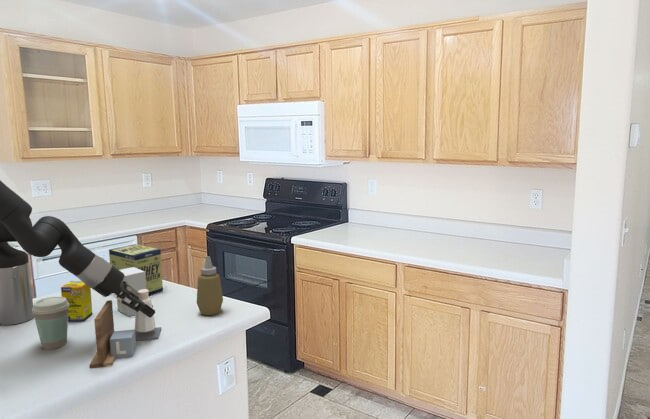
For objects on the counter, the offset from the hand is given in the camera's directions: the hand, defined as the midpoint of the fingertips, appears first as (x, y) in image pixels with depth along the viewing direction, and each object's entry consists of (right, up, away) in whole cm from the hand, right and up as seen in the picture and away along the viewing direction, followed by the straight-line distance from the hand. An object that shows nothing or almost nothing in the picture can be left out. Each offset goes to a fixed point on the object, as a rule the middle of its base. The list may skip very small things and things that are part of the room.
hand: (151, 311), depth 130 cm
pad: (-2, -7, 0) cm, 7 cm away
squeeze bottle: (+12, -4, +17) cm, 21 cm away
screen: (-7, -8, -11) cm, 16 cm away
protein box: (-19, -1, +36) cm, 41 cm away
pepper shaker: (-2, -5, 0) cm, 5 cm away
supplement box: (-27, -5, +12) cm, 30 cm away
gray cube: (-3, -8, -10) cm, 14 cm away
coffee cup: (-24, -8, -5) cm, 26 cm away
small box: (-13, -4, +18) cm, 23 cm away
